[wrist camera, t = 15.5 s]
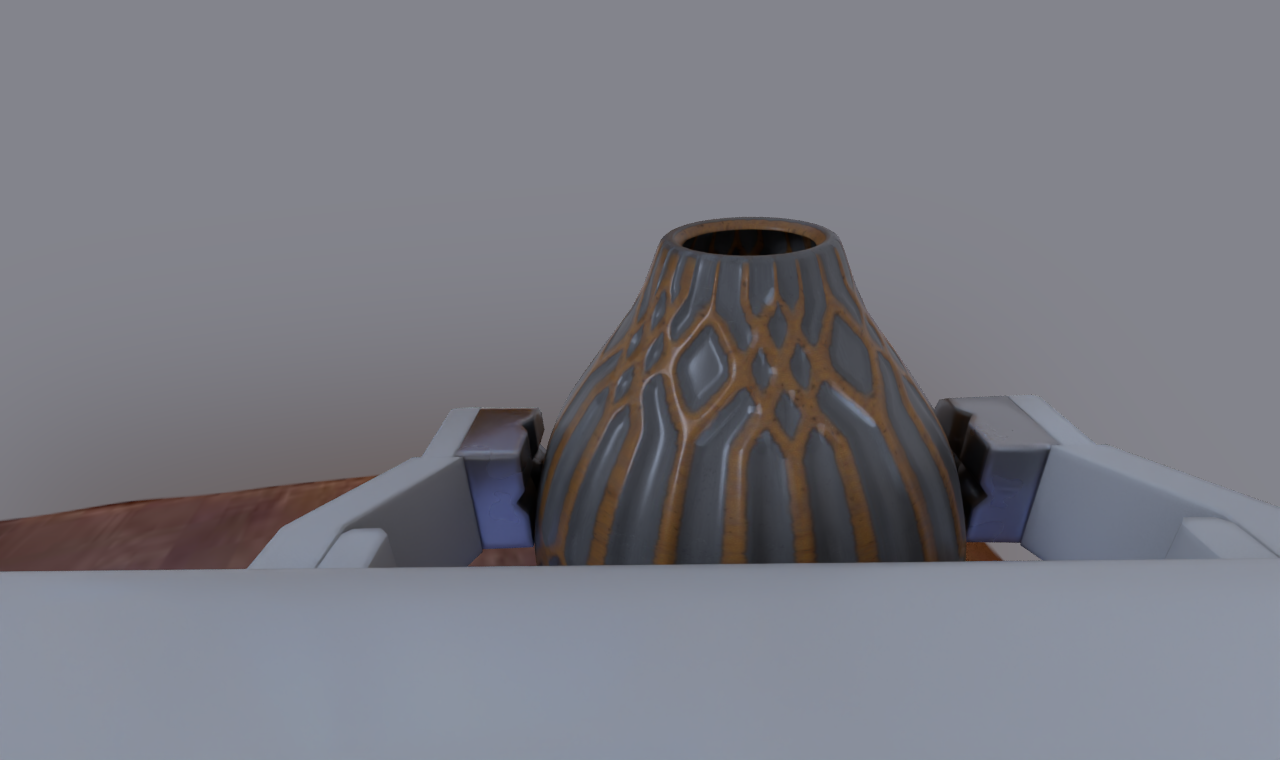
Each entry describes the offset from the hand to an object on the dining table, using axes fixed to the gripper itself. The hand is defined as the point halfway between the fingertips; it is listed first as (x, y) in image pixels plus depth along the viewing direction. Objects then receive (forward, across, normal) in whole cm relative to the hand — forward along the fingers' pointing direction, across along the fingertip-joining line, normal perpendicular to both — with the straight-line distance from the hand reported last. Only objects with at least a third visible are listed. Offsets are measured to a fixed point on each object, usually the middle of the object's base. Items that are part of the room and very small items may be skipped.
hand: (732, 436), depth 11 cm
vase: (-1, 0, +5) cm, 5 cm away
